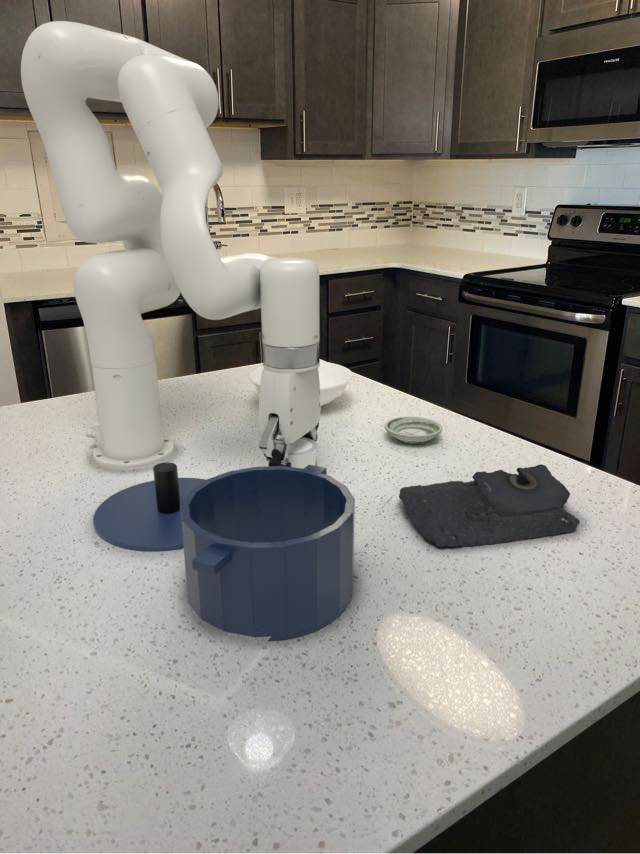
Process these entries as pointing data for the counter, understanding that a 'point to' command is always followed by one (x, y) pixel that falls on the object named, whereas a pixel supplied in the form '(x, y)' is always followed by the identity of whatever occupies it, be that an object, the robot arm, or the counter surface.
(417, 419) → the saucer
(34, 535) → the counter surface
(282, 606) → the pot
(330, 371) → the bowl
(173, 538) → the lid
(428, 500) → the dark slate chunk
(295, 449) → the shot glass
